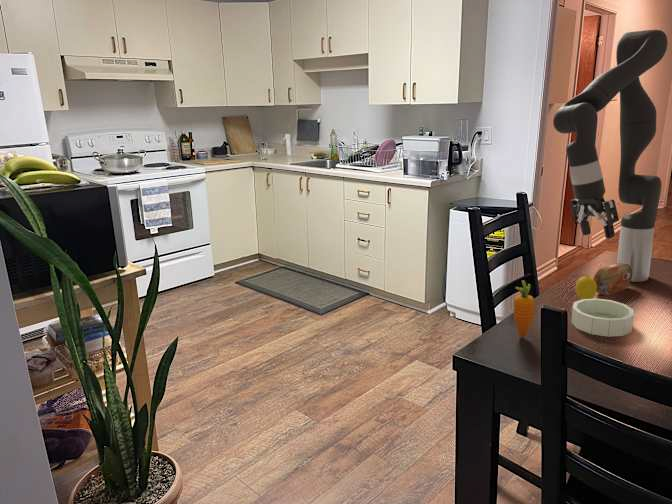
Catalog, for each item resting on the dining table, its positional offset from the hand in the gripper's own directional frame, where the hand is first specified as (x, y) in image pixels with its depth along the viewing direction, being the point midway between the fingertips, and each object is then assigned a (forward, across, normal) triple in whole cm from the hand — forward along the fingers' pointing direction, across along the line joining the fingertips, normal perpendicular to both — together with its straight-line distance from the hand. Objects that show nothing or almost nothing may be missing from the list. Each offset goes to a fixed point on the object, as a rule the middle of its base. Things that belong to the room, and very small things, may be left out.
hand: (598, 236), depth 139 cm
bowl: (+20, -8, +11) cm, 24 cm away
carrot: (+15, -7, +34) cm, 37 cm away
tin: (+23, +10, -9) cm, 26 cm away
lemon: (+20, +6, +4) cm, 21 cm away
